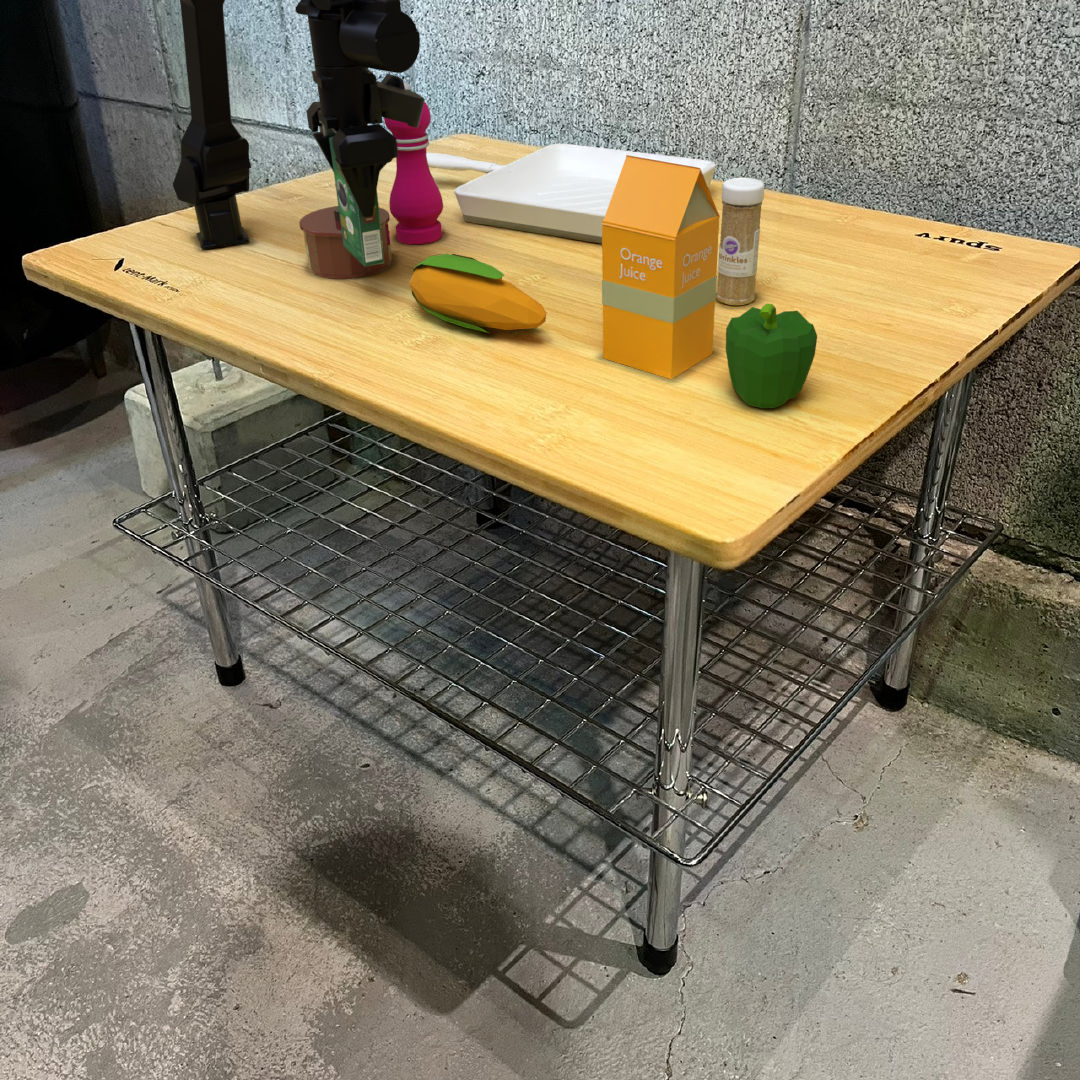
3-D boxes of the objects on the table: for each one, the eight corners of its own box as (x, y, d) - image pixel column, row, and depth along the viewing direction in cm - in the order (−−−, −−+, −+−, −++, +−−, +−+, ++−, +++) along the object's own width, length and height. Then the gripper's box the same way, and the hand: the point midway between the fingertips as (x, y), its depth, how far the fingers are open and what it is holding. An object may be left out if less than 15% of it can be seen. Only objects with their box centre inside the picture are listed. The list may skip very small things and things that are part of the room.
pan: (628, 253, 141) (628, 215, 138) (360, 209, 161) (355, 175, 158) (720, 193, 160) (721, 159, 157) (470, 161, 181) (468, 129, 178)
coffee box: (387, 264, 127) (374, 148, 119) (364, 268, 126) (349, 152, 118) (365, 243, 133) (351, 132, 125) (342, 248, 132) (327, 136, 124)
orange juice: (671, 379, 109) (677, 178, 98) (601, 358, 114) (599, 163, 103) (714, 353, 114) (724, 158, 103) (645, 333, 119) (648, 145, 108)
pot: (302, 258, 144) (295, 216, 141) (380, 245, 147) (375, 204, 144) (318, 284, 136) (311, 241, 133) (400, 270, 139) (396, 227, 136)
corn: (435, 233, 126) (568, 268, 115) (445, 294, 131) (573, 333, 120) (389, 255, 122) (521, 294, 111) (400, 318, 127) (528, 361, 115)
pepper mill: (437, 247, 146) (422, 88, 134) (386, 245, 147) (367, 88, 136) (451, 229, 151) (438, 76, 140) (402, 228, 153) (385, 76, 142)
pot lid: (292, 221, 142) (289, 203, 140) (378, 208, 145) (375, 190, 143) (310, 247, 133) (307, 228, 131) (400, 232, 136) (398, 214, 135)
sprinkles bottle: (711, 304, 125) (717, 186, 118) (721, 290, 129) (727, 174, 121) (751, 308, 124) (759, 189, 116) (759, 294, 127) (768, 177, 120)
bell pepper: (756, 370, 110) (764, 275, 105) (825, 395, 105) (836, 296, 100) (703, 398, 106) (707, 300, 100) (772, 425, 101) (781, 324, 95)
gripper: (437, 69, 112) (450, 219, 121) (391, 40, 127) (405, 176, 136) (331, 81, 109) (351, 234, 118) (296, 50, 124) (317, 189, 133)
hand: (359, 206), depth 126 cm, fingers closed on coffee box, 8 cm apart
